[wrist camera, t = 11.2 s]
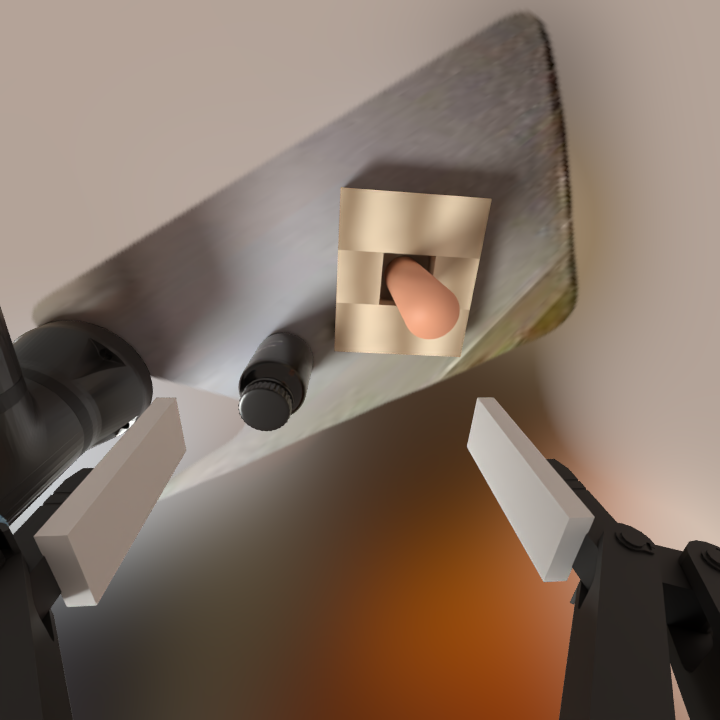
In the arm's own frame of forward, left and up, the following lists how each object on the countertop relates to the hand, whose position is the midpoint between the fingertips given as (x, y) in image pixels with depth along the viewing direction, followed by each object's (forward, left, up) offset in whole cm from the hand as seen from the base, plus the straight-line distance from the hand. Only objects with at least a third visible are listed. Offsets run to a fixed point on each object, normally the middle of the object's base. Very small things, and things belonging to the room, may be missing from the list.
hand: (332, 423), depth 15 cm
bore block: (+7, +2, -26) cm, 27 cm away
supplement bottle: (-6, -9, -27) cm, 29 cm away
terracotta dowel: (+7, +2, -25) cm, 26 cm away
